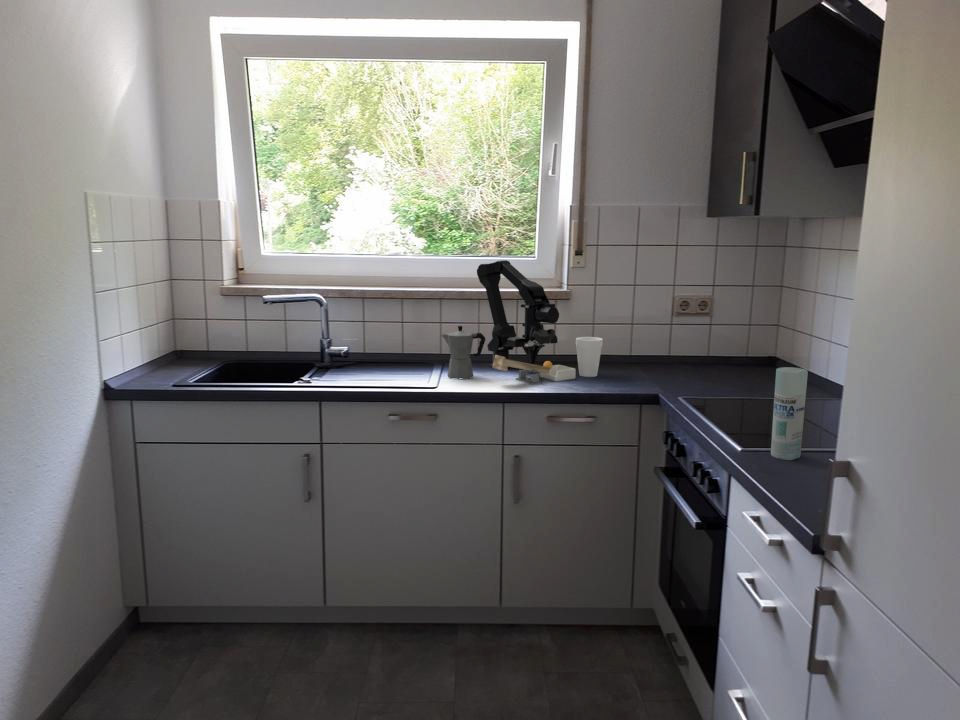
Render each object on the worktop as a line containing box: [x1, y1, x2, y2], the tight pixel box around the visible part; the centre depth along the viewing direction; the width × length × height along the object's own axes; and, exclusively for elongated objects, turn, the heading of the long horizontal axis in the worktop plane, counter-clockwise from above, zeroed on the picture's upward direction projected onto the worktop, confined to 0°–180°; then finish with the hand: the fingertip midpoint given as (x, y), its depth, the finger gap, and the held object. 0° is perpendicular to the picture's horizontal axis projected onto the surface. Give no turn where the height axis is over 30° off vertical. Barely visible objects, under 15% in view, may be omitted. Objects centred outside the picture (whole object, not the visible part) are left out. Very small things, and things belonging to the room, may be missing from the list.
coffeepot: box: [441, 325, 486, 380], centre depth 252 cm, size 15×9×18 cm, turn 82°
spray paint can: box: [770, 366, 809, 461], centre depth 163 cm, size 6×6×20 cm
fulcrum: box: [515, 369, 543, 385], centre depth 246 cm, size 9×4×3 cm, turn 33°
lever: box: [491, 355, 550, 374], centre depth 248 cm, size 17×24×4 cm
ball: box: [542, 360, 553, 369], centre depth 250 cm, size 3×3×3 cm
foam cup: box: [575, 336, 604, 378], centre depth 255 cm, size 10×9×13 cm
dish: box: [539, 364, 577, 382], centre depth 252 cm, size 9×9×4 cm
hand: (532, 364), depth 259 cm, fingers closed
